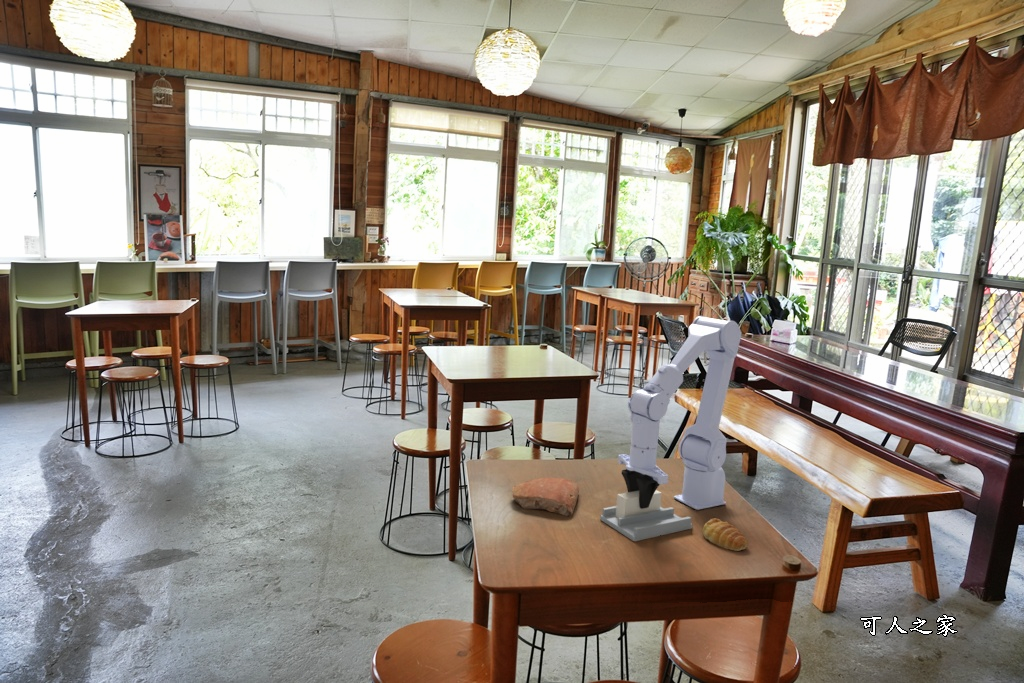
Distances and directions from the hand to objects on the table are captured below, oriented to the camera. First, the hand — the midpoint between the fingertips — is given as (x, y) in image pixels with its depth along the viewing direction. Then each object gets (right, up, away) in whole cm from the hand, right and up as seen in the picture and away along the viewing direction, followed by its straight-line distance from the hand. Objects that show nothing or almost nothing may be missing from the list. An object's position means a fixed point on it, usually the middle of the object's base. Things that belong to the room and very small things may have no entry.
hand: (638, 504), depth 152 cm
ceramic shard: (-20, -2, +9) cm, 22 cm away
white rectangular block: (0, -2, 0) cm, 2 cm away
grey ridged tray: (+1, -4, -2) cm, 4 cm away
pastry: (+16, -6, -8) cm, 19 cm away
